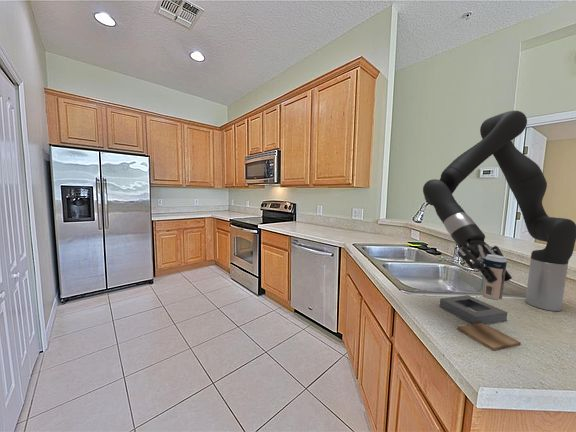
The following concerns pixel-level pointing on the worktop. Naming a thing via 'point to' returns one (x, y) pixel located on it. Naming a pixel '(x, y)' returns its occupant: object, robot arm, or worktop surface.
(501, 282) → the beer can
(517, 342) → the walnut coaster
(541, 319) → the worktop surface
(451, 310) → the metal collar
